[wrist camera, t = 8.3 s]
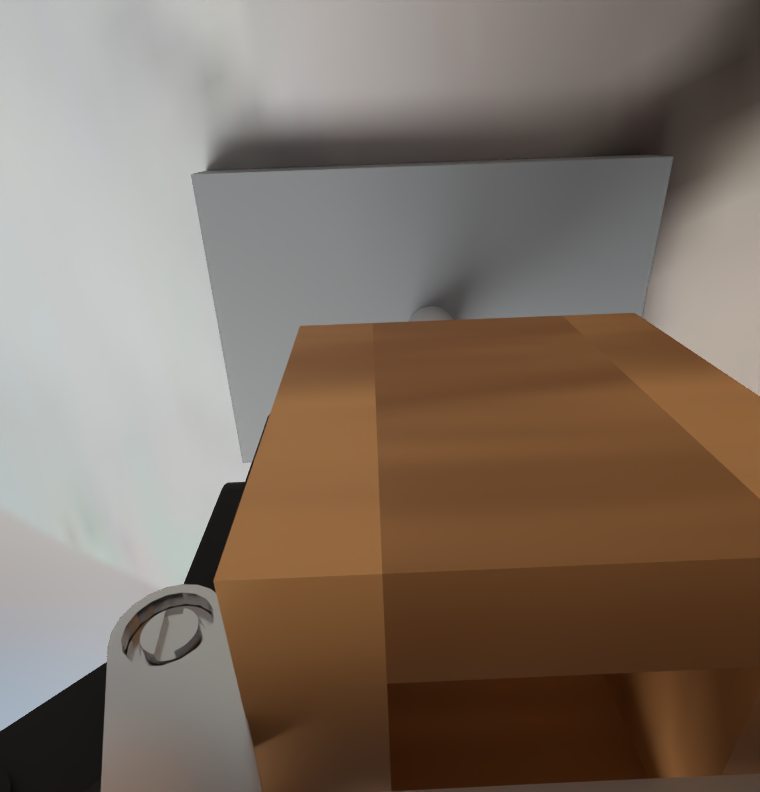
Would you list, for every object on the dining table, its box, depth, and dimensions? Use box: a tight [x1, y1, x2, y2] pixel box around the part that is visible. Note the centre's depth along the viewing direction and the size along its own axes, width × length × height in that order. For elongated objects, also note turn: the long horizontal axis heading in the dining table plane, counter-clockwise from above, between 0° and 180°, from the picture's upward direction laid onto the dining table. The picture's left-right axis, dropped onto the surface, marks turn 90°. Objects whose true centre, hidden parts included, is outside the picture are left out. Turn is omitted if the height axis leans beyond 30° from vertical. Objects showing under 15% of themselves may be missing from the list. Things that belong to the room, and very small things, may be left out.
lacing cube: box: [213, 313, 760, 792], centre depth 8 cm, size 6×6×6 cm
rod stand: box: [191, 155, 673, 463], centre depth 14 cm, size 10×14×10 cm
